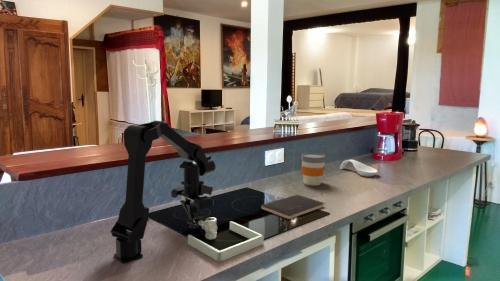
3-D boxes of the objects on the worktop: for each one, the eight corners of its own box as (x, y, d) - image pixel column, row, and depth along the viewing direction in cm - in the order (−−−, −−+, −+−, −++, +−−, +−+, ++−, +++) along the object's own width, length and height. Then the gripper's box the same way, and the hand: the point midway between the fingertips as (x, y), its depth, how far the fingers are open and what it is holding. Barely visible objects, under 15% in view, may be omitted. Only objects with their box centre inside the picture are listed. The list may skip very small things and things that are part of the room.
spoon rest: (381, 176, 216) (382, 164, 214) (368, 179, 209) (369, 167, 207) (347, 168, 234) (348, 156, 233) (335, 170, 227) (336, 159, 226)
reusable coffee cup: (329, 184, 197) (330, 156, 194) (311, 187, 190) (313, 158, 187) (312, 178, 207) (313, 151, 204) (295, 181, 200) (296, 154, 197)
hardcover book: (324, 208, 162) (324, 202, 162) (288, 220, 147) (289, 215, 147) (296, 198, 174) (296, 194, 173) (260, 209, 158) (260, 204, 158)
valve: (222, 236, 130) (202, 226, 139) (222, 218, 129) (202, 209, 138) (206, 242, 125) (187, 230, 134) (206, 223, 124) (187, 213, 133)
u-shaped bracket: (219, 262, 112) (219, 252, 112) (187, 243, 124) (187, 235, 123) (263, 243, 125) (263, 235, 124) (231, 228, 137) (231, 221, 136)
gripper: (225, 180, 134) (225, 221, 137) (194, 170, 147) (194, 208, 150) (200, 186, 127) (200, 229, 129) (170, 174, 140) (170, 214, 142)
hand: (191, 219), depth 138 cm, fingers closed
